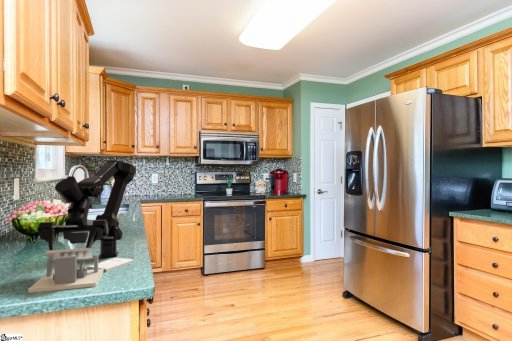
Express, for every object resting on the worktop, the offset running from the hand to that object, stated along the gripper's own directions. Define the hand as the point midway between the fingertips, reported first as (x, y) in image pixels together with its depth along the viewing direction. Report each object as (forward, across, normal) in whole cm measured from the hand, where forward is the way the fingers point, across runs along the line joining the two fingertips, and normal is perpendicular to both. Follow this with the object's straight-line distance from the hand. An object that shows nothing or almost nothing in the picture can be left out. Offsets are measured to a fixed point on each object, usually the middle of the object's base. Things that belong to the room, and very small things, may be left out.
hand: (69, 253), depth 92 cm
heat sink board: (+6, 0, -6) cm, 8 cm away
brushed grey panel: (-1, 0, -4) cm, 5 cm away
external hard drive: (-3, -10, -16) cm, 19 cm away
